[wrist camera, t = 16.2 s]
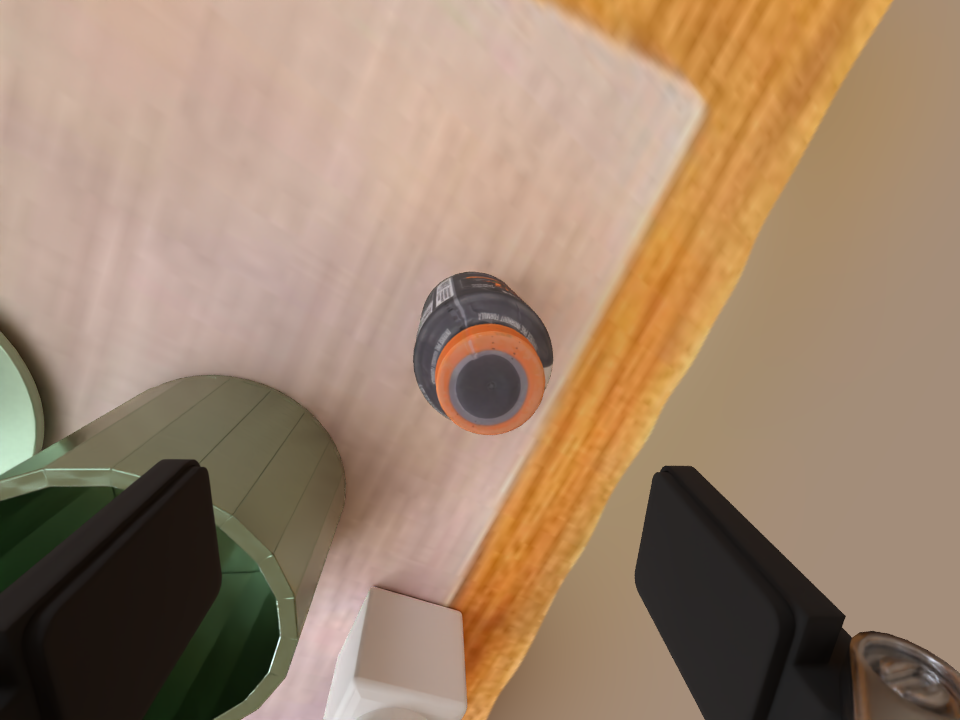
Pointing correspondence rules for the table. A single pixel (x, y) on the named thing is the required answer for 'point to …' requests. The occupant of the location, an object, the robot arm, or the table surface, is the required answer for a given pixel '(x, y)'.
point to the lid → (18, 410)
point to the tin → (237, 511)
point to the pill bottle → (481, 354)
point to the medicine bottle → (400, 662)
